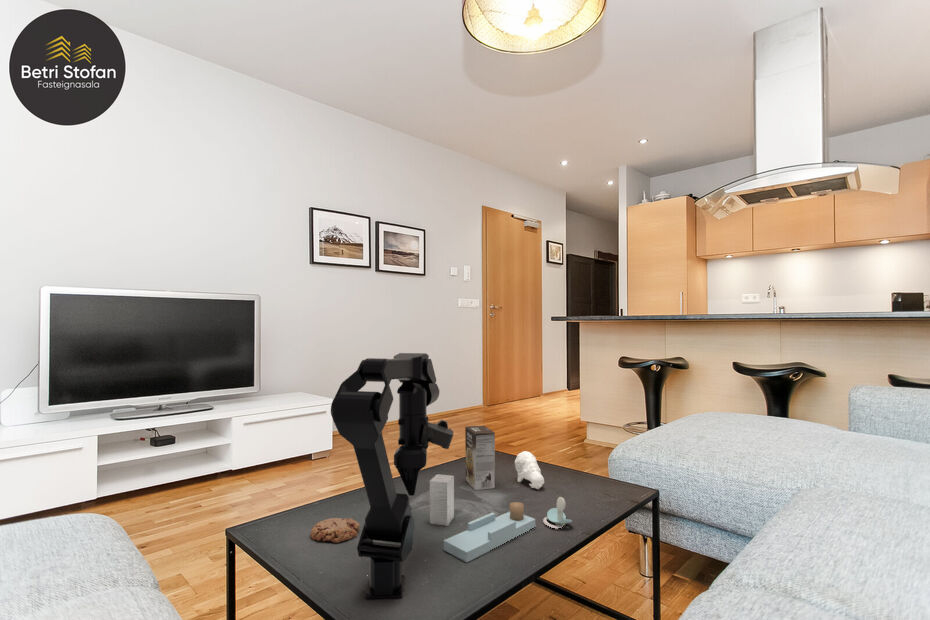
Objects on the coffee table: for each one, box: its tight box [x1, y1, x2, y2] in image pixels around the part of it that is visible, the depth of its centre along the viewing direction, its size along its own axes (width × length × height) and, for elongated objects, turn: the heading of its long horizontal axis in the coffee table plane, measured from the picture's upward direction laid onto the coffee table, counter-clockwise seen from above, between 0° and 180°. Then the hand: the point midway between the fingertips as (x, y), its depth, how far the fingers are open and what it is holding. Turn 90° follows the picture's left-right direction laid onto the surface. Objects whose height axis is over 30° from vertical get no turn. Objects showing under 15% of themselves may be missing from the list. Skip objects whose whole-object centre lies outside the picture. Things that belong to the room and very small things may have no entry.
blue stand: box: [443, 501, 536, 563], centre depth 102 cm, size 22×7×5 cm, turn 134°
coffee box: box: [464, 425, 496, 491], centre depth 136 cm, size 9×6×16 cm
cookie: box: [310, 517, 361, 544], centre depth 105 cm, size 10×11×3 cm
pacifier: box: [542, 496, 573, 530], centre depth 109 cm, size 7×6×6 cm
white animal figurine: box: [514, 450, 545, 490], centre depth 136 cm, size 6×8×12 cm
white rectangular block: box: [429, 473, 455, 527], centre depth 112 cm, size 6×4×10 cm
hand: (413, 487), depth 98 cm, fingers open, 9 cm apart
